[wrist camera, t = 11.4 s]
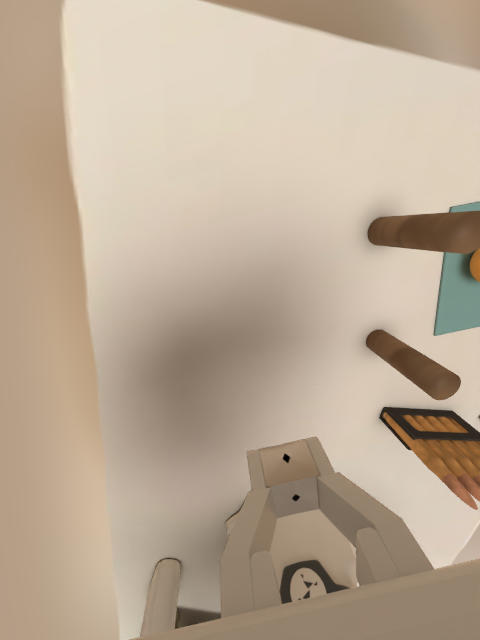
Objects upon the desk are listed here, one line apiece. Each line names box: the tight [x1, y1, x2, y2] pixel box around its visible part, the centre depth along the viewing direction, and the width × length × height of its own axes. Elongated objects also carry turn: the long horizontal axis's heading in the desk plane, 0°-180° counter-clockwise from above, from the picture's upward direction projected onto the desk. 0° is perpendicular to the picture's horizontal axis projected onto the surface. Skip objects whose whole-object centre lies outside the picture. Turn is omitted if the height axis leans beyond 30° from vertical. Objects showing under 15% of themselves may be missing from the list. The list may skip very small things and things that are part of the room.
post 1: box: [368, 211, 480, 254], centre depth 20 cm, size 3×3×9 cm
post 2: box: [366, 330, 461, 400], centre depth 24 cm, size 3×3×9 cm
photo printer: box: [140, 559, 180, 637], centre depth 35 cm, size 10×4×12 cm, turn 163°
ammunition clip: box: [380, 407, 480, 510], centre depth 28 cm, size 11×2×12 cm, turn 82°
